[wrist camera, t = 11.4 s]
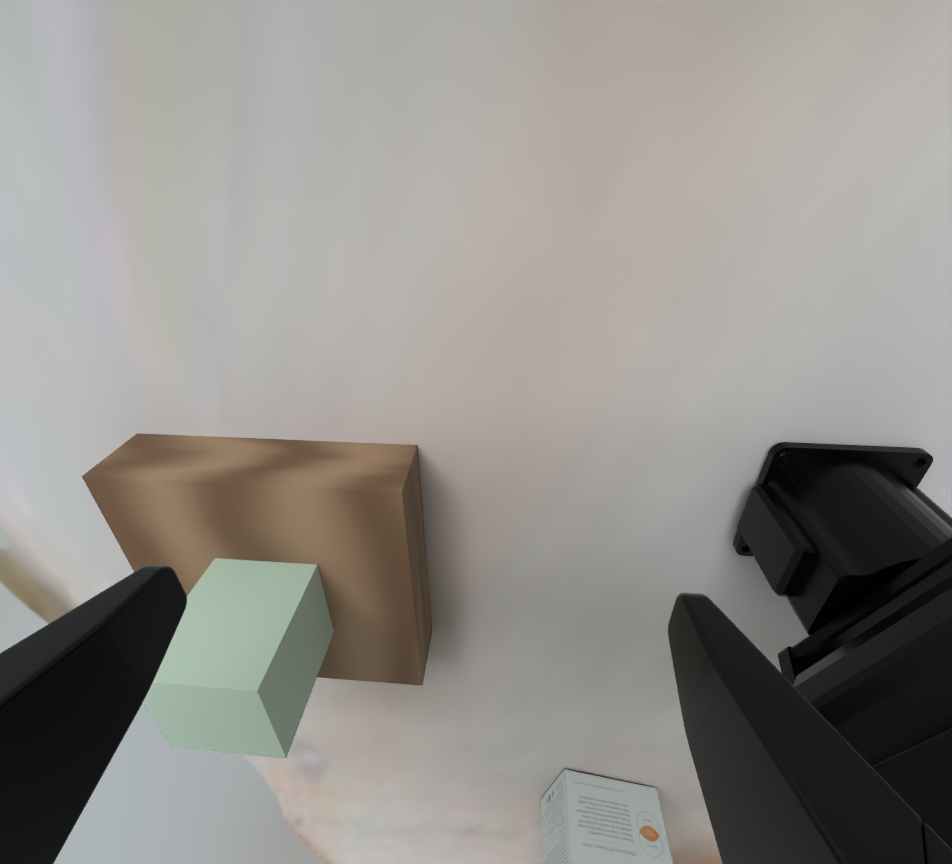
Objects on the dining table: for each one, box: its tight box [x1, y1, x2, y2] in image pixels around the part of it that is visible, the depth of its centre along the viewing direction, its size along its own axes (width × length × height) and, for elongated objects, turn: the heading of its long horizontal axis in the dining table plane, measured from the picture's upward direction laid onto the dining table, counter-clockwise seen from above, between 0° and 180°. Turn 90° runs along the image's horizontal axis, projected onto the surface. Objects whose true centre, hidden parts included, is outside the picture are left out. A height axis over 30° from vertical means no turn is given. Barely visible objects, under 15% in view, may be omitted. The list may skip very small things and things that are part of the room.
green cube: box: [142, 558, 334, 758], centre depth 21 cm, size 5×5×6 cm
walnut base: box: [82, 434, 432, 685], centre depth 25 cm, size 14×14×4 cm
